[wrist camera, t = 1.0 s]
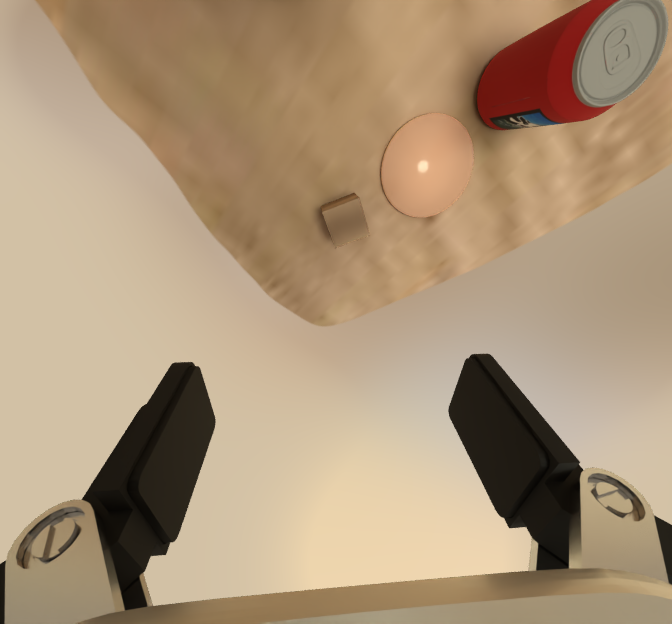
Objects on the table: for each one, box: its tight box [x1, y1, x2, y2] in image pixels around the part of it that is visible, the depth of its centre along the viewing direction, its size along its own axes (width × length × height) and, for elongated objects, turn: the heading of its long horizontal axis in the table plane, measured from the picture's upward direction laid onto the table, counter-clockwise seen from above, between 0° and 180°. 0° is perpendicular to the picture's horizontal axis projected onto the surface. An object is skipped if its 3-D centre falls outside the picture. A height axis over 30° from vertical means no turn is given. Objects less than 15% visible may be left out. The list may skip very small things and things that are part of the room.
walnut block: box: [321, 193, 370, 248], centre depth 31 cm, size 4×4×4 cm
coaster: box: [381, 113, 474, 217], centre depth 31 cm, size 10×10×1 cm
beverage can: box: [477, 0, 668, 130], centre depth 23 cm, size 7×7×12 cm
